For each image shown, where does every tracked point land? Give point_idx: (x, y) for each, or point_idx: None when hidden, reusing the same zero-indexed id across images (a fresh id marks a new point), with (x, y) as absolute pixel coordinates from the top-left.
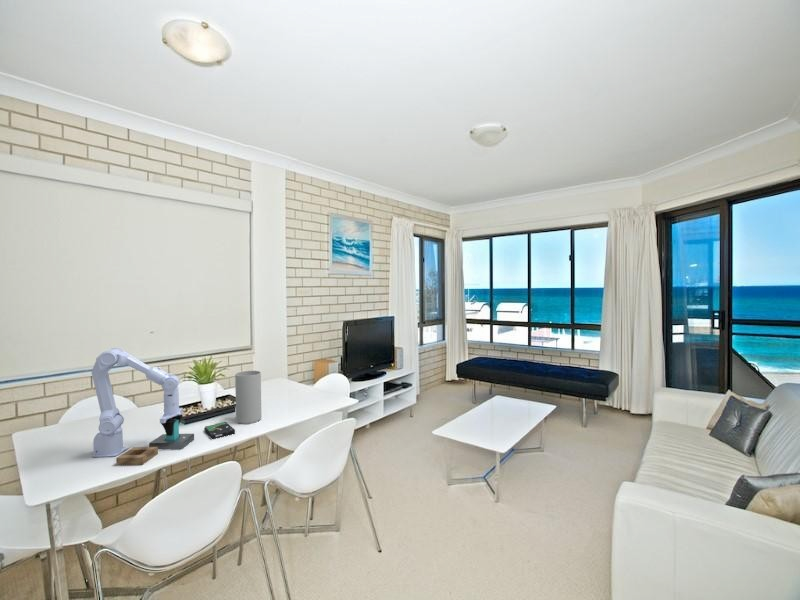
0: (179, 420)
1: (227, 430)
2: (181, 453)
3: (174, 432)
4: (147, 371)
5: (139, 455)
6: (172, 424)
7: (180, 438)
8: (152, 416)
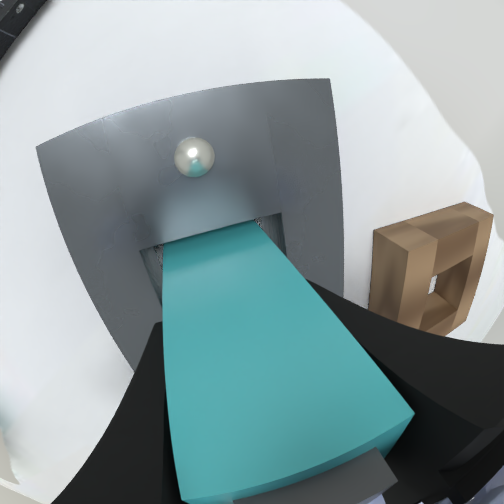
0: (139, 472)
1: None
2: (363, 54)
3: (297, 277)
4: None
5: (477, 250)
6: (474, 348)
7: (220, 185)
8: (45, 488)
